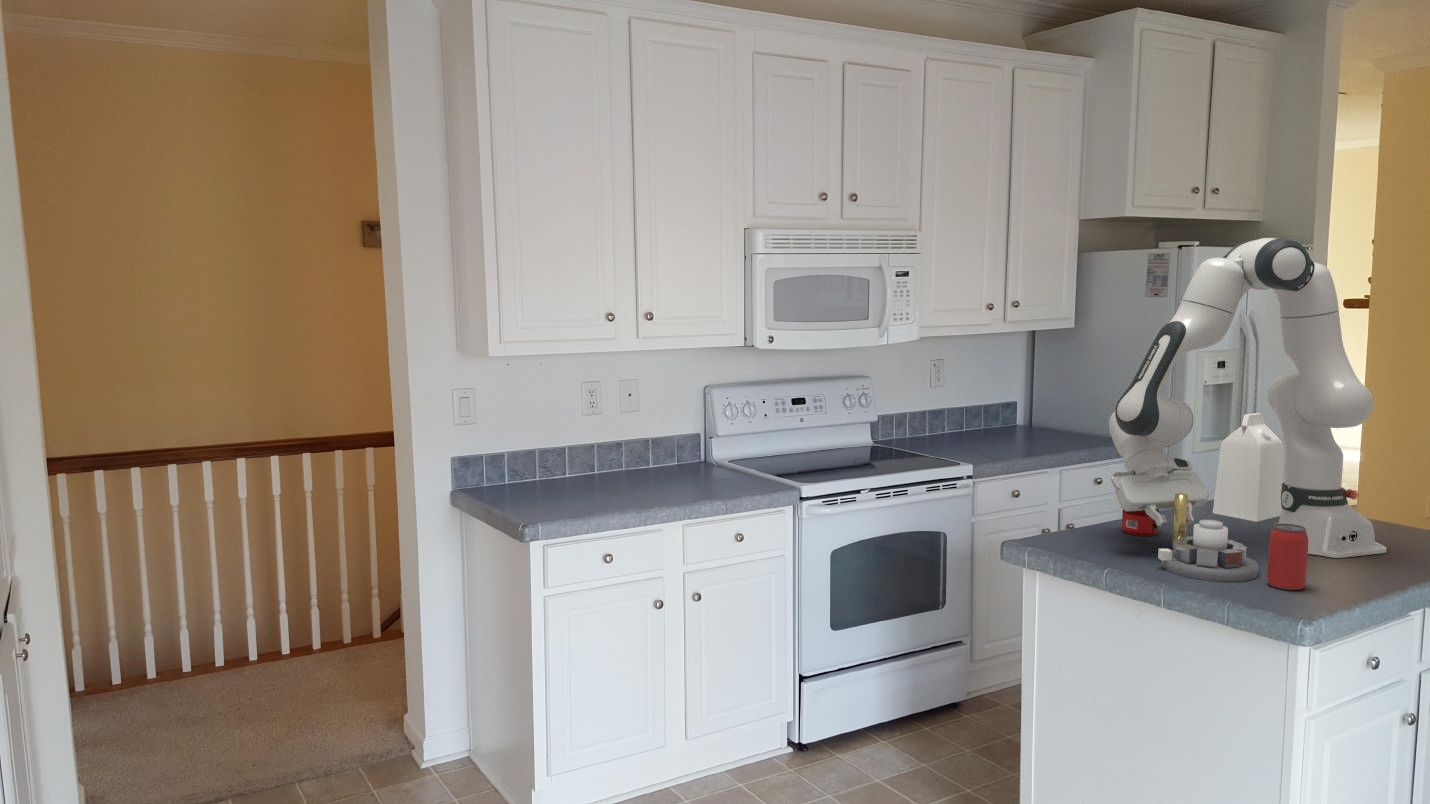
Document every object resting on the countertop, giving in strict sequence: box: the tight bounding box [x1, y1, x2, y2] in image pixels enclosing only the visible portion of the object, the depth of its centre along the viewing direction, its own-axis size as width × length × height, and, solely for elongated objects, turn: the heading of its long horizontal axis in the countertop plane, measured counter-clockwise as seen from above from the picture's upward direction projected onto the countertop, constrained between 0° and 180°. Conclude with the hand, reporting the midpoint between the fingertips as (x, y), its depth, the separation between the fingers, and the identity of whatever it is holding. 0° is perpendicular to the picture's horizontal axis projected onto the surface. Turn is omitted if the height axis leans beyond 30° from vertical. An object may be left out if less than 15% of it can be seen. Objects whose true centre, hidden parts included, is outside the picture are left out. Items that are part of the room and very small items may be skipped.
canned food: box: [1121, 509, 1160, 537], centre depth 239 cm, size 8×8×11 cm
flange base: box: [1157, 519, 1259, 583], centre depth 209 cm, size 19×18×10 cm
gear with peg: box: [1171, 493, 1248, 568], centre depth 210 cm, size 17×13×12 cm
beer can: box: [1266, 523, 1309, 591], centre depth 196 cm, size 7×7×12 cm
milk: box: [1212, 412, 1284, 523], centre depth 256 cm, size 12×12×26 cm
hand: (1176, 523), depth 216 cm, fingers open, 5 cm apart
